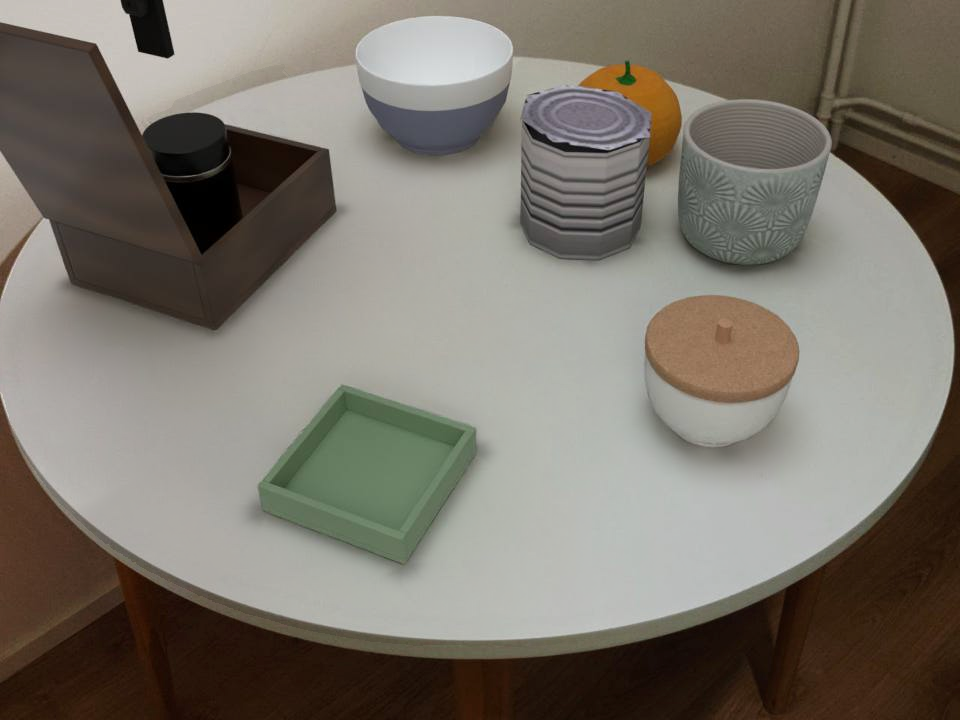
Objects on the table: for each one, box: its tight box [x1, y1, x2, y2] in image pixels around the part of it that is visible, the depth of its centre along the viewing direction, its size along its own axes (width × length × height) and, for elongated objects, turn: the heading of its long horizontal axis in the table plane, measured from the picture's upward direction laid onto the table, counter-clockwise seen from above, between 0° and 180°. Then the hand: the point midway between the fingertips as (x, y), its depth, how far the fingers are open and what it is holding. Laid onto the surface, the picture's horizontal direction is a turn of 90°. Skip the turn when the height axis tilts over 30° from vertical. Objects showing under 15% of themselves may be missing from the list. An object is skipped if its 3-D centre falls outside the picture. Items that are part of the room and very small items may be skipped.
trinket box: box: [643, 294, 800, 448], centre depth 76 cm, size 11×11×9 cm
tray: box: [257, 383, 477, 565], centre depth 74 cm, size 11×11×3 cm
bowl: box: [354, 15, 515, 156], centre depth 109 cm, size 16×16×10 cm
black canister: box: [141, 111, 243, 255], centre depth 93 cm, size 7×7×11 cm
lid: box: [0, 21, 202, 263], centre depth 77 cm, size 20×16×1 cm
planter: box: [677, 98, 833, 266], centre depth 93 cm, size 12×12×11 cm
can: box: [519, 84, 651, 261], centre depth 95 cm, size 11×11×12 cm
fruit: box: [577, 60, 683, 167], centre depth 105 cm, size 12×12×10 cm
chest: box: [48, 123, 337, 331], centre depth 95 cm, size 20×16×7 cm
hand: (212, 17), depth 81 cm, fingers open, 13 cm apart
